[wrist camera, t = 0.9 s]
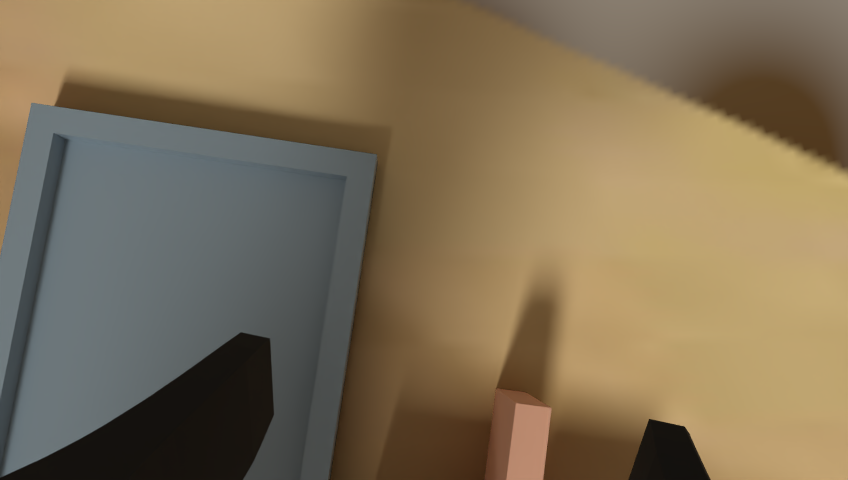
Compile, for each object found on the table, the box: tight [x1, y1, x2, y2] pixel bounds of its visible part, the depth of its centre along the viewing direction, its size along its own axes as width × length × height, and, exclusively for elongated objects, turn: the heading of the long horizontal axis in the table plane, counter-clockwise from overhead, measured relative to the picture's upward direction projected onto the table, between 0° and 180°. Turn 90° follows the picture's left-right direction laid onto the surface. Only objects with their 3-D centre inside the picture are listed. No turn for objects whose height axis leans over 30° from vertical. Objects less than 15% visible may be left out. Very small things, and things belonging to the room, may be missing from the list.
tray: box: [0, 103, 378, 480], centre depth 26 cm, size 17×13×2 cm
